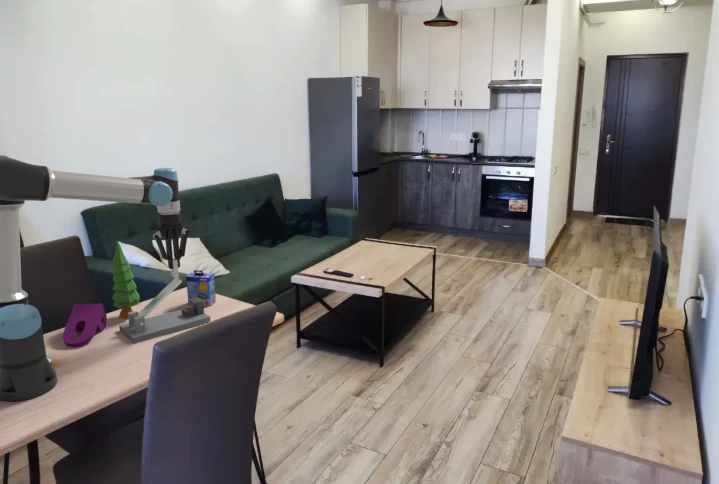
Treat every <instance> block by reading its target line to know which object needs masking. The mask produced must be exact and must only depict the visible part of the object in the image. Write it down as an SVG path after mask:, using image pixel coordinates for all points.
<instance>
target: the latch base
mask: <svg viewBox="0 0 719 484" xmlns="http://www.w3.org/2000/svg"><path fill="white" fill-rule="evenodd" d="M189 302H191V303H192V305H191V307H190V306H188V307H187V306H186V307H182V308H181V309H179V310H174V311H170V312H166V313H162V314H159V315H155V316H151V317H144V316H141V317H137V318H134V321H133V320H132V318H133V317H134V316H136V315H137V314H138V313H139V311H138V310H135V311H133V310H132V311H133V312H129V313H128V319H127V320H128V322H127V323H124V324H123V323H122V324H120V325H119V326H118V328H119V332H121V333H122V334H123V335H124V336H125V337H126V338H127V339H128V340H129V341H130V342H131V343H132V344H136V343H140V342H143V341H147V340H150V339H154V338H157V337H161V336H165V335H169V334H172V333H176V332H179V331H182V330H187V329H189V328H193V327H197V326H200V325H205V324H208V323H210V322H209V321H212V320H211V316H210V315H208V313H207V314H206V313H205V309H204V308H205V307H204V306H203V301H202V300H201V299H199V298H193V299H189ZM207 322H208V323H207ZM204 323H205V324H204Z"/></svg>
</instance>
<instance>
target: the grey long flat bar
mask: <svg viewBox="0 0 719 484" xmlns="http://www.w3.org/2000/svg"><path fill="white" fill-rule="evenodd" d="M182 282H183V281H182V280H181V279H180V278H179V277H178V278H174V279H172V280H171V281H170V282H169V283H168V284H167V285H166V286H165V287H164V288H163V289H162V290H161V291H160V292H159V293H158V294H157V295H156V296H155V297H154V298H153V299H151V300H150V302H149V303H148V304H147V305H145V306H144V308H142V309H141V310H140V311H138V314H137V315H136V316H134V317H133V318H132V320H133V321H134V318H137V317H141V316H144V317H145V318H147V317H148V316H149V314H150V313H151V312H153V311H154V310H155V309H156V308H157V307H158V306H159V305H160V304H161V303H162V302H163V301H164V300H165V299H167V298H168V296H169V295H170V294H171V293H173V291H174V290H175V289H177V288H178V287H179V285H181V284H182Z"/></svg>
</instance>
